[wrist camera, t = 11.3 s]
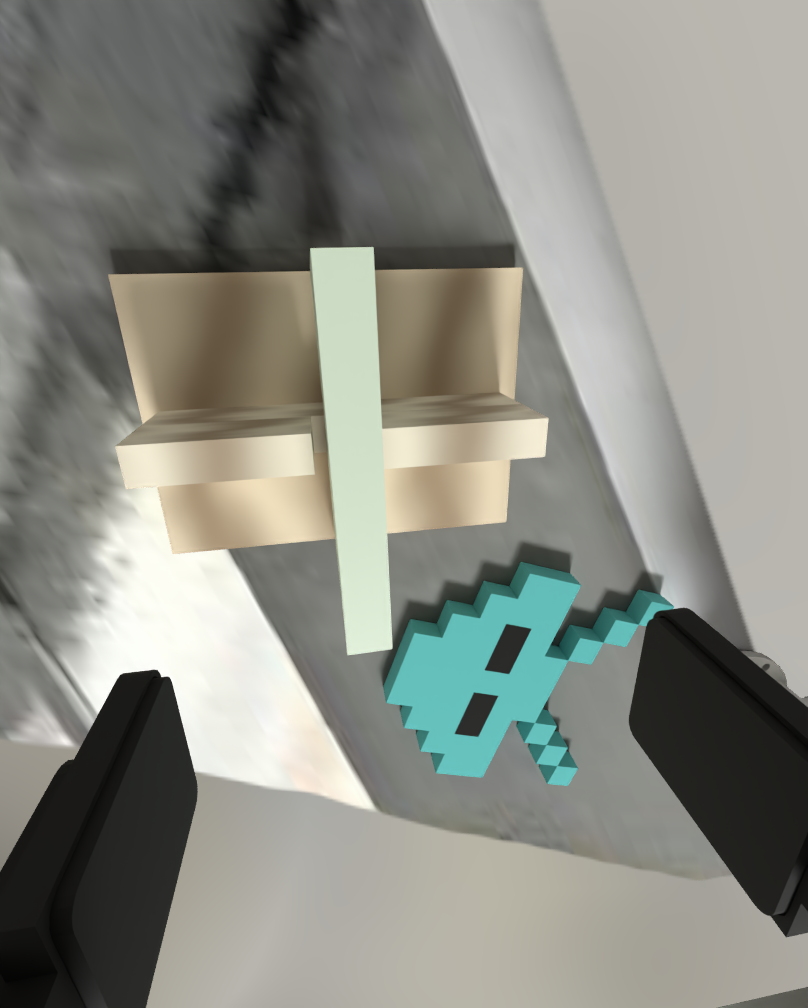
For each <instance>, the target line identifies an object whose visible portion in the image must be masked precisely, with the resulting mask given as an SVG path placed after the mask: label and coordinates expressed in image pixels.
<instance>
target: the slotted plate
mask: <svg viewBox="0 0 808 1008" xmlns="http://www.w3.org/2000/svg"><path fill="white" fill-rule="evenodd" d="M310 274H311V285H312V295H313V306H314V317H315V328H316V338H317V349H318V360H319V370H320V381H321V391H322V399H323V409H324V420H325V430H326V441H327V456H328V467H329V478H330V488H331V499H332V510H333V521H334V531H335V541H336V551H337V560H338V570H339V579H340V588H341V598H342V607H343V617H344V626H345V635H346V645H347V654H348V655H353V654H361V653H368V652H375V651H382V650H389V649H392V628H391V607H390V586H389V564H388V543H387V522H386V501H385V479H384V458H383V437H382V416H381V394H380V373H379V352H378V331H377V309H376V288H375V267H374V247H350V248H310Z"/></svg>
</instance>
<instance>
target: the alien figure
mask: <svg viewBox="0 0 808 1008" xmlns="http://www.w3.org/2000/svg"><path fill="white" fill-rule="evenodd" d="M580 587H581V585H580V584H579V582H578V581H577V580H576V579H575V578H574V577H573V576H572V575H571V574H570V573H566V572H562V571H558V570H554V569H549V568H545V567H541V566H537V565H532V564H528V563H524V562H520V564H519V567H518V569H517V571H516V573H515V575H514V577H513V580H512V582H511V584H510V586H505V585H500V584H496V583H491V582H487V581H483V584H482V586H481V588H480V590H479V593H478V595H477V597H476V599H475V602H474V604H473V605H470V604H465V603H460V602H455V601H450V600H447V601H446V603H445V606H444V608H443V610H442V613H441V615H440V617H439V620H438V622H437V624H435V623H430V622H425V621H419V620H414V619H410V621H409V623H408V626H407V628H406V631H405V633H404V636H403V638H402V641H401V643H400V646H399V648H398V651H397V653H396V656H395V658H394V661H393V664H392V666H391V669H390V671H389V674H388V676H387V679H386V681H385V684H384V686H383V688H384V693H385V699H386V703H389V704H397V705H403V706H402V708H401V711H400V712H401V717H402V721H403V726H404V728H408V729H417V730H418V731H417V734H416V735H417V739H418V743H419V747H420V751H423V752H432V755H431V756H432V760H433V764H434V768H435V772H436V773H440V774H451V775H461V776H471V777H483V775H484V773H485V771H486V769H487V767H488V765H489V764H490V762H491V760H492V758H493V756H494V754H495V752H496V750H497V748H498V746H499V744H500V742H501V740H502V738H503V736H504V734H505V732H506V731H507V729H508V727H509V725H510V723H511V721H512V720H516V721H519V723H518V725H517V728H518V730H519V732H520V734H521V736H522V739H523V741H524V743H530V745H529V747H528V748H529V750H530V752H531V754H532V756H533V758H534V760H535V762H536V764H541V765H540V766H539V768H540V770H541V772H542V774H543V776H544V778H545V780H546V782H547V784H554V785H565V786H568V785H569V783H570V781H571V779H572V778H573V776H574V774H575V773H576V771H577V769H578V767H577V766H576V764H575V762H574V760H573V758H572V757H571V755H570V753H569V752H566V750H567V749H568V747H567V745H566V744H565V742H564V740H563V738H562V737H561V735H560V733H559V732H556V731H555V729H556V727H557V725H556V723H555V721H554V720H553V718H552V716H551V714H550V713H549V711H548V710H542V709H543V707H544V705H545V703H546V701H547V699H548V698H549V696H550V694H551V692H552V690H553V688H554V686H555V684H556V683H557V681H558V679H559V677H560V675H561V673H562V671H563V670H564V668H565V666H566V664H567V662H568V661H574V662H580V663H585V664H592V662H593V661H594V659H595V657H596V655H597V653H598V652H599V650H600V648H601V646H602V644H603V643H608V644H613V645H618V646H623V647H626V646H627V644H628V643H629V641H630V639H631V637H632V636H633V634H634V632H635V630H636V629H637V627H638V625H642V626H647V623H648V621H649V620H650V619H653V616H654V614H655V613H656V612H658V611H661V610H670V609H673V608H674V606H673V605H672V604H670V603H669V602H668V601H667V600H666V599H665V598H663V597H662V596H661V595H660V594H656V593H651V592H647V591H643V590H638V591H637V593H636V595H635V597H634V599H633V600H632V602H631V604H630V606H629V607H628V609H627V611H626V612H624V611H620V610H615V609H610V608H606V607H604V608H603V610H602V612H601V614H600V616H599V617H598V619H597V621H596V623H595V625H594V627H593V628H592V629H589V628H584V627H579V626H574V625H569V627H568V629H567V631H566V633H565V635H564V637H563V639H562V640H561V642H560V644H559V646H554V645H551V643H552V641H553V639H554V637H555V635H556V633H557V631H558V629H559V628H560V626H561V624H562V622H563V620H564V618H565V616H566V614H567V612H568V610H569V608H570V606H571V604H572V602H573V600H574V598H575V596H576V594H577V593H578V591H579V589H580Z"/></svg>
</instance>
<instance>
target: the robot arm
mask: <svg viewBox="0 0 808 1008" xmlns="http://www.w3.org/2000/svg"><path fill="white" fill-rule="evenodd" d="M629 726H630V729H631V732H632V734H633V736H634V738H635V739H636V741H637V742H638V743H639V745H640V746H641V748H642V749H643V750H644V752H645V753H646V754H647V756H648V757H649V759H650V760H651V761H652V763H653V764H654V766H655V767H656V768H657V770H658V771H659V773H660V774H661V775H662V777H663V778H664V779H665V781H666V782H667V784H668V785H669V786H670V788H671V789H672V791H673V792H674V793H675V795H676V796H677V798H678V799H679V800H680V802H681V803H682V805H683V806H684V807H685V809H686V810H687V811H688V813H689V814H690V816H691V817H692V818H693V820H694V821H695V823H696V824H697V825H698V827H699V828H700V830H701V831H702V832H703V834H704V835H705V836H706V838H707V839H708V841H709V842H710V843H711V845H712V846H713V848H714V849H715V850H716V852H717V853H718V855H719V856H720V857H721V859H722V860H723V861H724V863H725V864H726V866H727V867H728V868H729V870H730V871H731V873H732V874H733V875H734V877H735V878H736V879H737V881H738V882H739V884H740V885H741V886H742V888H743V889H744V891H745V892H746V893H747V895H748V896H749V898H750V899H751V900H752V902H753V903H754V904H755V906H757V908H758V909H759V910H760V911H761V912H763V913H764V914H766V915H769V916H771V917H772V918H773V920H774V921H775V923H776V924H777V925H778V927H779V928H780V930H781V931H782V932H783V934H784V935H785V936H786V937H789V936H795V935H799V934H803V933H808V696H807V697H804V698H800V697H799V696H797V695H796V694H795V693H794V692H793V691H791V690H790V689H789V688H788V687H787V683H786V678H785V674H784V672H783V671H782V669H781V668H780V666H778V665H777V664H776V663H775V662H773V661H772V660H771V659H770V658H768V657H767V656H765V655H763V654H761V653H757V652H753V651H740V650H739V649H737V648H736V647H735V646H734V645H733V644H731V643H730V642H729V641H728V640H727V639H725V638H724V637H723V636H722V635H721V634H719V633H718V632H717V631H716V630H715V629H713V628H712V627H711V626H710V625H709V624H707V623H706V622H705V621H704V620H703V619H701V618H700V617H699V616H698V615H697V614H695V613H694V612H693V611H691V610H690V609H688V608H678V609H670V610H661V611H658V612H656V613H655V614H654V616H653V619H650V620H649V621H648V623H647V626H646V631H645V636H644V642H643V647H642V652H641V657H640V663H639V668H638V673H637V678H636V683H635V689H634V694H633V699H632V704H631V710H630V715H629ZM196 802H197V780H196V776H195V772H194V768H193V764H192V760H191V756H190V753H189V749H188V745H187V741H186V737H185V733H184V729H183V725H182V721H181V717H180V713H179V709H178V705H177V701H176V697H175V693H174V689H173V685H172V682H171V679H170V678H169V677H161V675H160V673H159V672H158V670H149V671H140V672H132V673H123V674H122V675H120V676H119V678H118V679H117V681H116V683H115V684H114V686H113V688H112V690H111V692H110V694H109V696H108V697H107V699H106V701H105V703H104V705H103V707H102V709H101V710H100V712H99V714H98V716H97V718H96V720H95V722H94V723H93V725H92V727H91V729H90V731H89V733H88V734H87V736H86V738H85V740H84V742H83V744H82V746H81V747H80V749H79V751H78V753H77V755H76V757H75V759H74V760H68V761H67V762H65V763H64V764H63V765H61V767H60V768H59V770H58V771H57V773H56V774H55V775H54V777H53V779H52V781H51V783H50V785H49V786H48V788H47V790H46V791H45V793H44V795H43V797H42V799H41V800H40V802H39V804H38V806H37V807H36V809H35V811H34V813H33V815H32V816H31V818H30V820H29V822H28V824H27V825H26V827H25V829H24V831H23V833H22V834H21V836H20V838H19V839H18V841H17V843H16V845H15V847H14V848H13V850H12V852H11V854H10V855H9V857H8V859H7V861H6V863H5V865H4V866H3V868H2V870H1V872H0V1008H146V1004H147V1000H148V996H149V992H150V988H151V984H152V980H153V976H154V972H155V968H156V964H157V960H158V955H159V952H160V948H161V944H162V940H163V936H164V932H165V928H166V924H167V920H168V916H169V912H170V908H171V903H172V900H173V895H174V891H175V887H176V883H177V879H178V875H179V871H180V867H181V863H182V859H183V855H184V851H185V847H186V843H187V839H188V834H189V831H190V826H191V823H192V819H193V814H194V811H195V806H196ZM718 1008H808V987H806V988H802V989H797V990H793V991H789V992H784V993H779V994H775V995H771V996H766V997H762V998H758V999H754V1000H749V1001H744V1002H740V1003H736V1004H731V1005H727V1006H723V1007H718Z"/></svg>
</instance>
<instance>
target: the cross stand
mask: <svg viewBox="0 0 808 1008" xmlns="http://www.w3.org/2000/svg"><path fill="white" fill-rule="evenodd" d="M108 276H109V280H110V284H111V289H112V293H113V297H114V302H115V306H116V310H117V315H118V319H119V323H120V328H121V332H122V336H123V341H124V345H125V349H126V354H127V358H128V362H129V367H130V371H131V375H132V380H133V384H134V388H135V393H136V397H137V401H138V406H139V410H140V414H141V419H142V423H143V424H142V425H141V426H140V427H139V428H137V429H136V430H135V431H134V432H132V433H131V434H130V435H129V436H127V437H126V438H125V439H124V440H122V441H121V442H120V443H119V444H117V445H116V446H115V447H116V451H117V455H118V459H119V463H120V467H121V471H122V475H123V479H124V482H125V486H126V489H134V488H147V487H157V488H158V492H159V497H160V501H161V505H162V510H163V514H164V518H165V523H166V527H167V531H168V536H169V540H170V544H171V549H172V553H173V554H179V553H190V552H200V551H211V550H221V549H231V548H242V547H252V546H262V545H273V544H283V543H293V542H304V541H314V540H324V539H335V531H334V521H333V510H332V499H331V488H330V478H329V467H328V456H327V441H326V430H325V420H324V409H323V399H322V391H321V381H320V370H319V360H318V349H317V338H316V328H315V317H314V306H313V295H312V285H311V274H310V271H292V272H233V273H173V274H113V275H108ZM522 276H523V268H472V269H412V270H375V288H376V309H377V331H378V352H379V373H380V394H381V416H382V437H383V458H384V479H385V501H386V522H387V533H397V532H407V531H418V530H428V529H438V528H449V527H459V526H469V525H480V524H490V523H500V522H506V519H507V504H508V489H509V474H510V459H523V458H536V457H545V450H546V439H547V429H548V418H547V417H545V416H543V415H542V414H540V413H538V412H536V411H534V410H532V409H530V408H528V407H526V406H524V405H523V404H521V403H519V402H517V401H515V400H514V398H515V383H516V367H517V352H518V337H519V322H520V307H521V291H522Z"/></svg>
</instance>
